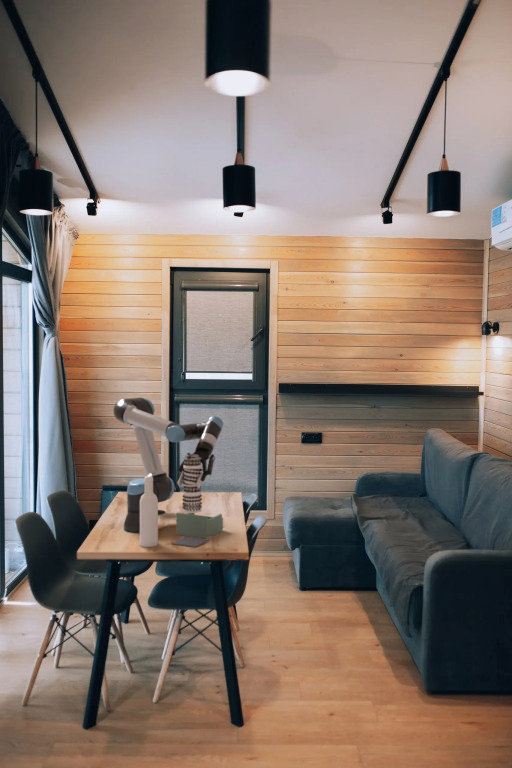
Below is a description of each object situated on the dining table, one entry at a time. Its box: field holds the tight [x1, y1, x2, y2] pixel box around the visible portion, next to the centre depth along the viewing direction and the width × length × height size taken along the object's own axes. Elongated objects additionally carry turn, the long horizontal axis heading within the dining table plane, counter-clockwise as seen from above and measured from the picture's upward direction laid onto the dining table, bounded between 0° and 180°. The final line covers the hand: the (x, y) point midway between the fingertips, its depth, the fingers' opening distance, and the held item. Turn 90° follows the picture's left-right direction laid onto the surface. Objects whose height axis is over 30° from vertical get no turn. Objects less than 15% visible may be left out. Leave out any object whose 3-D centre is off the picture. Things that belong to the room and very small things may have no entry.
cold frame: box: [175, 512, 224, 539], centre depth 301 cm, size 16×16×10 cm
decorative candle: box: [182, 453, 203, 514], centre depth 282 cm, size 9×9×25 cm
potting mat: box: [171, 536, 210, 548], centre depth 283 cm, size 12×12×1 cm
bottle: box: [139, 476, 159, 548], centre depth 279 cm, size 8×8×30 cm
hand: (188, 485), depth 279 cm, fingers closed on decorative candle, 9 cm apart
